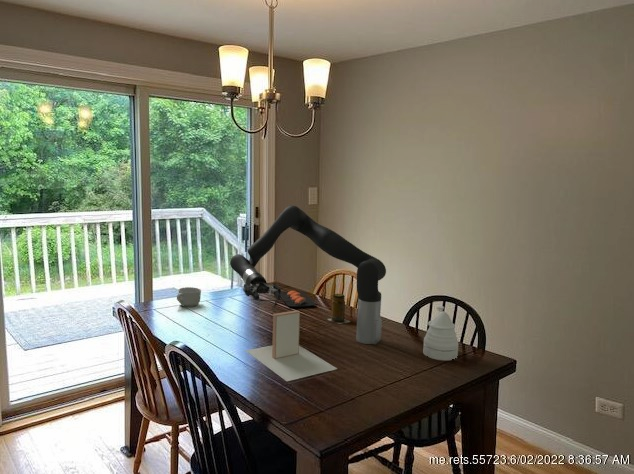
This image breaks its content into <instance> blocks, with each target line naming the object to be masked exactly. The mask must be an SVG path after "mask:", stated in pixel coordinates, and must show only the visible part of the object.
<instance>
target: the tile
mask: <svg viewBox="0 0 634 474" xmlns="http://www.w3.org/2000/svg"><path fill="white" fill-rule="evenodd" d="M272 315H273V316H272V344H271V345H272V358H274V359H278V358H283V357H287V356H292V355H296V354H299V346H300V326H301V325H300V323H301V322H300V321H301V320H300V319H301V311H299V310H290V311H283V312H277V313H273V314H272Z"/></svg>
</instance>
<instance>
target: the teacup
mask: <svg viewBox="0 0 634 474" xmlns="http://www.w3.org/2000/svg"><path fill="white" fill-rule="evenodd" d="M201 292H202V289H201V288H198V287H193V286H192V287H191V286H190V287H189V286H188V287H187V286H186V287H181V288H179V289H178V293H177V294H176V300H177V301H178V303H179V304H180V305H181V306H183V307H185V308H191V307H192V308H193V307H196V306H197V305H198V304H200V302H201V294H202V293H201Z"/></svg>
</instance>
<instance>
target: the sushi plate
mask: <svg viewBox="0 0 634 474" xmlns="http://www.w3.org/2000/svg"><path fill="white" fill-rule="evenodd" d="M280 298H281V299H282V300H280V302H282V303H283V302H284V303H285V304H286V305H287V306H288V307H291V308H292V307H293V308H306V307H314V306H316V303H315V301H314V300H312V298H311V297H310V296H308V294H307V293H305V291H301V290H289V291H286V290H285V291H283V290H282V291H281V292H280ZM252 300H255V301H257V300H256V299H254V298H252ZM260 301H263V302H264V301H265V302H266V301H267V302H274V304H273V306H272V307H271V310H274V309H275V306H276V304H277V302H278V300H277V299H276V300H275V299H262V298H261V299H260V298H259V302H260Z"/></svg>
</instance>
